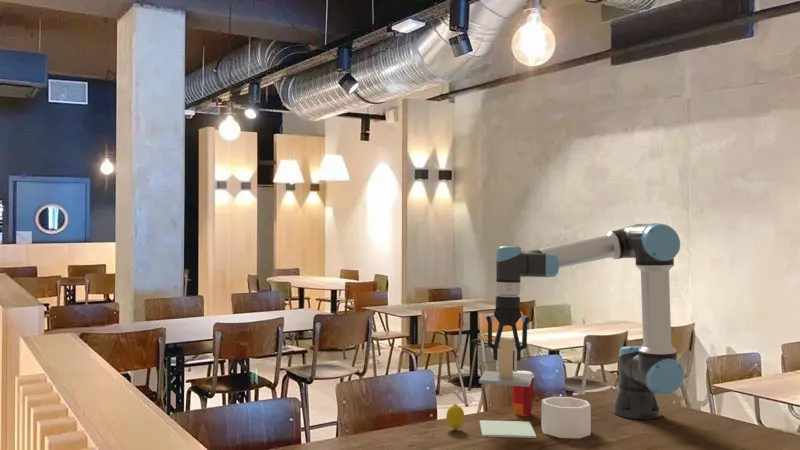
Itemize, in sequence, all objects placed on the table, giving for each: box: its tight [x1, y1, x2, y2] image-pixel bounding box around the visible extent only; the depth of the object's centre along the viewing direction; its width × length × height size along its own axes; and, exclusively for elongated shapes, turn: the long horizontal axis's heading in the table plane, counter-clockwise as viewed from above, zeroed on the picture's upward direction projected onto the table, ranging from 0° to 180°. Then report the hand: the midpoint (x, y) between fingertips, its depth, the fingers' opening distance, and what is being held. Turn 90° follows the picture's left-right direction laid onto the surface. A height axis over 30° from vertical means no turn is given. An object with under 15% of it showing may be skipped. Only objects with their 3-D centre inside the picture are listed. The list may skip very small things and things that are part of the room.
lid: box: [478, 336, 532, 387], centre depth 216 cm, size 15×15×13 cm
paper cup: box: [512, 370, 535, 417], centre depth 236 cm, size 8×8×14 cm
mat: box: [479, 419, 537, 439], centre depth 216 cm, size 16×16×1 cm
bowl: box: [540, 396, 592, 439], centre depth 215 cm, size 14×14×9 cm
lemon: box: [445, 403, 465, 431], centre depth 215 cm, size 6×6×8 cm
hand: (506, 370), depth 216 cm, fingers closed on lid, 4 cm apart
